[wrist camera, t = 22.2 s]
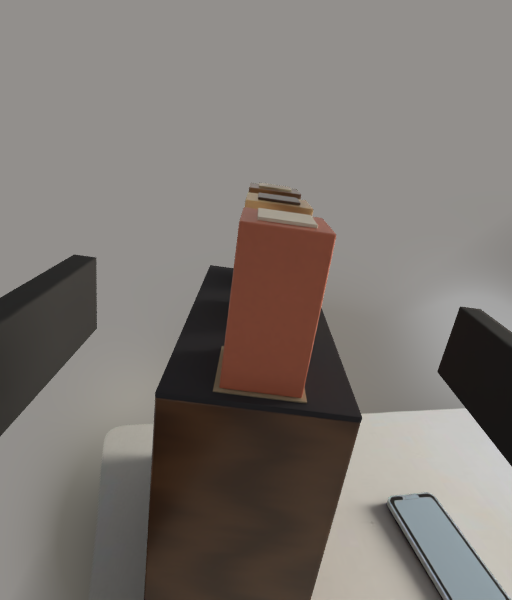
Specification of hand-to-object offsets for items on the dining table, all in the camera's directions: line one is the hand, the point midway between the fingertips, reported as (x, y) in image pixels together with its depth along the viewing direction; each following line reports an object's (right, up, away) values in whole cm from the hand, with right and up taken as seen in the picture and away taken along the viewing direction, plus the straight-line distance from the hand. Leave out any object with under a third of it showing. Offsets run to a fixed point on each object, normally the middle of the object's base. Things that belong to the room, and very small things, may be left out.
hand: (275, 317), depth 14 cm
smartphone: (+22, -30, +34) cm, 50 cm away
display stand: (-4, -27, +31) cm, 41 cm away
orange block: (0, -4, +12) cm, 12 cm away
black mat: (0, -1, +21) cm, 21 cm away
